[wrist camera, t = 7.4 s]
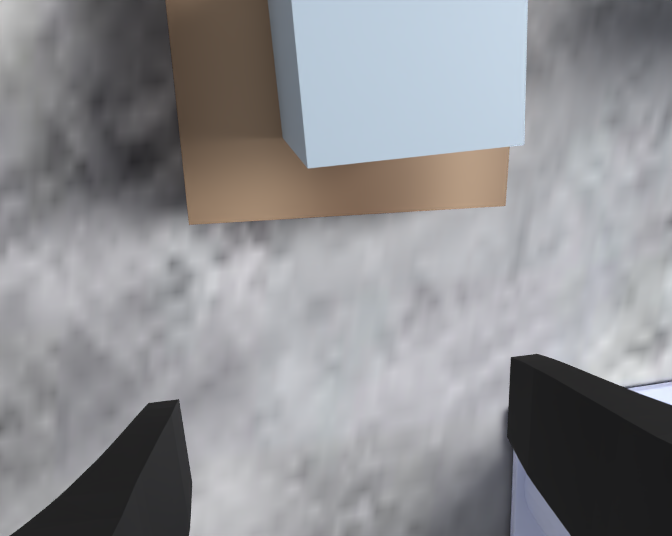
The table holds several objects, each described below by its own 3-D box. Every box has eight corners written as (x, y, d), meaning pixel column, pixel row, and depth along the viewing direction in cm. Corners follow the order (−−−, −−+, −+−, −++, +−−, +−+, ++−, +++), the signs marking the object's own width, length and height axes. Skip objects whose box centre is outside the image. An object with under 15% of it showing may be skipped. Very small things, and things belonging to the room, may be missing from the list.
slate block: (426, -44, 16) (530, -108, 10) (430, 122, 18) (524, 144, 12) (264, -34, 15) (282, -96, 10) (282, 137, 17) (307, 168, 11)
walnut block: (474, -114, 19) (531, -159, 16) (460, 184, 22) (505, 206, 19) (165, -121, 18) (147, -174, 14) (197, 198, 21) (189, 224, 17)
